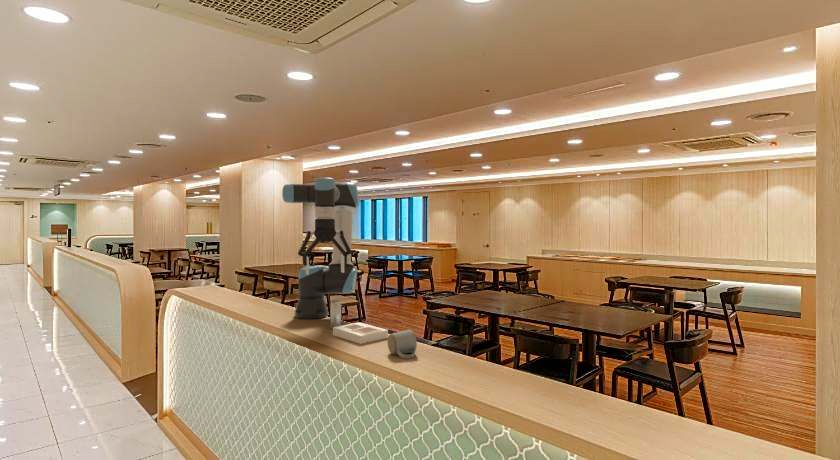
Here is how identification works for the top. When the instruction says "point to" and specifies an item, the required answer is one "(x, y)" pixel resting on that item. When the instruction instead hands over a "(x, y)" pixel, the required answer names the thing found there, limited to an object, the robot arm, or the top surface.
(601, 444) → the top surface
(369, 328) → the pin board
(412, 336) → the ceramic mug
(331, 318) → the pin
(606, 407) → the top surface
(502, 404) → the top surface
